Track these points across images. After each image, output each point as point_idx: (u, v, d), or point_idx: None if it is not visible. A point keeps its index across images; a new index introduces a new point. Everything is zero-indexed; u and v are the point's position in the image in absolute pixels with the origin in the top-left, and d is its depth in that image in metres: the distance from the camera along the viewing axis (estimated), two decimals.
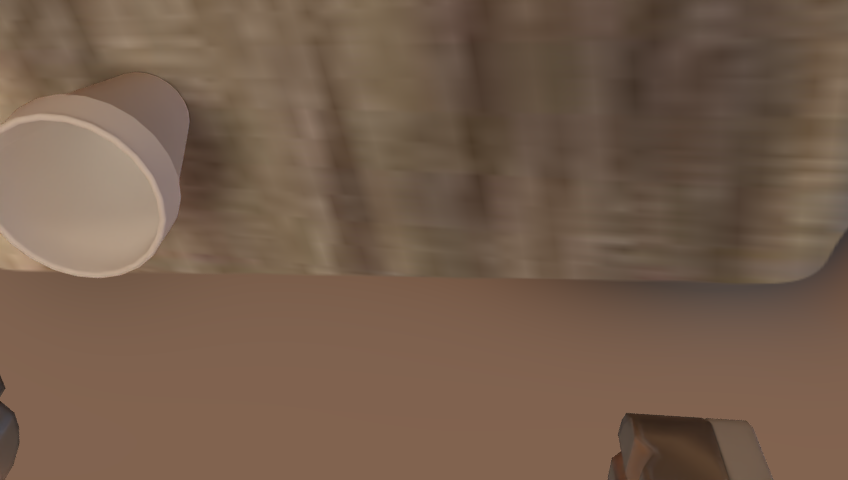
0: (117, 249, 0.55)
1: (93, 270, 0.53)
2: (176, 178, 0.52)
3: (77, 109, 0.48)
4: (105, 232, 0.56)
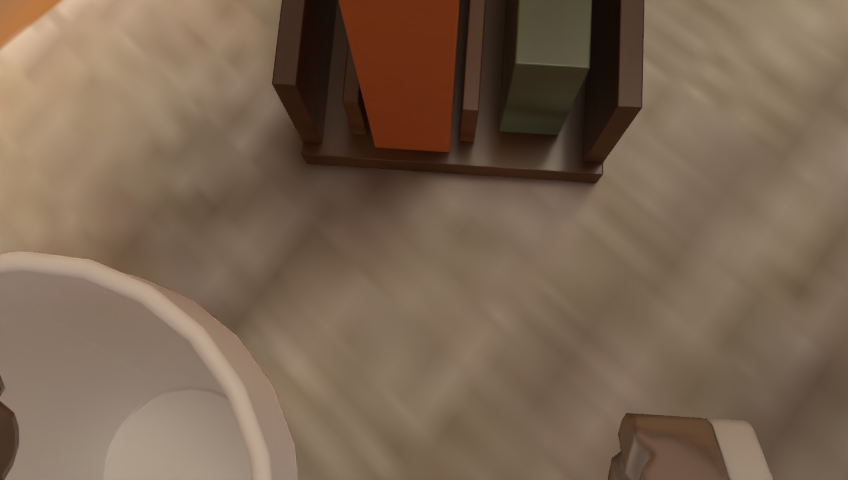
0: None
1: None
2: None
3: (257, 395, 0.18)
4: None
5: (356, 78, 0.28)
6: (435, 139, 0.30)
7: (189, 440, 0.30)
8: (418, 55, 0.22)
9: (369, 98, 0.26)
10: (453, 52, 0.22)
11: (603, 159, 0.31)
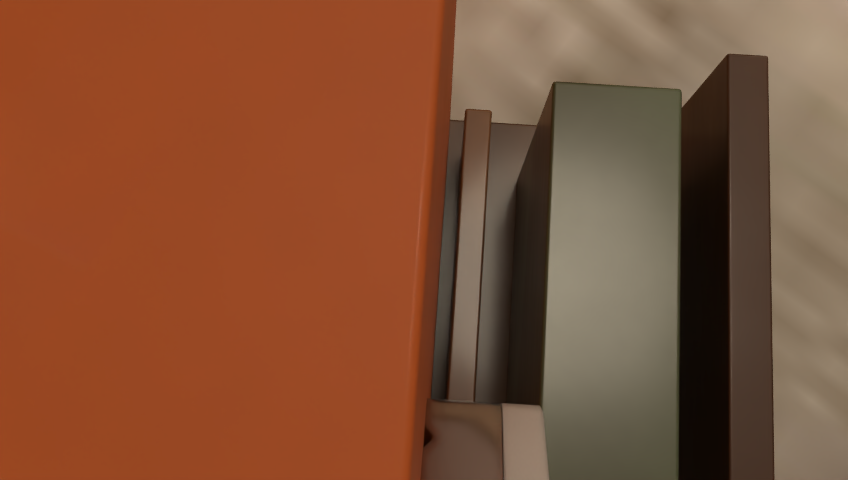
0: None
1: None
2: None
3: None
4: None
5: None
6: None
7: None
8: None
9: None
10: None
11: None
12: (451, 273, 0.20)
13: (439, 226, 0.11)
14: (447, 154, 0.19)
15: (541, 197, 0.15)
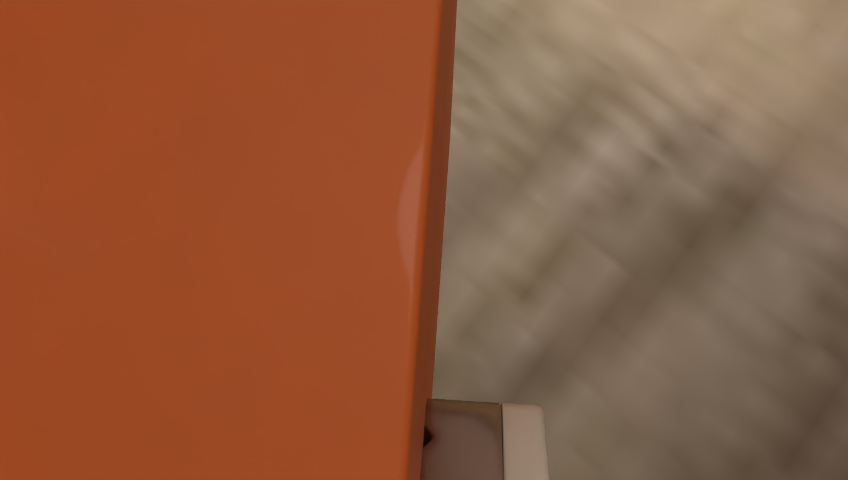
0: None
1: None
2: None
3: None
4: None
5: None
6: None
7: None
8: None
9: None
10: None
11: None
12: None
13: (439, 226, 0.11)
14: None
15: None
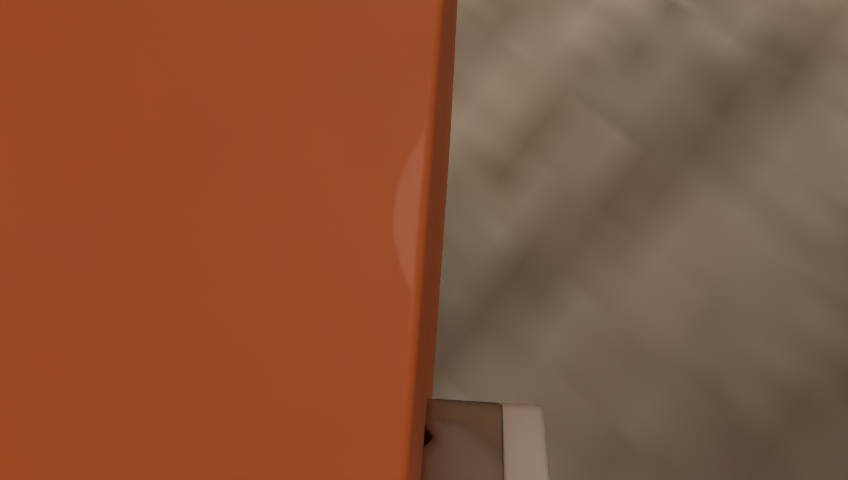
0: None
1: None
2: None
3: None
4: None
5: None
6: None
7: None
8: None
9: None
10: None
11: None
12: None
13: None
14: (448, 154, 0.19)
15: None
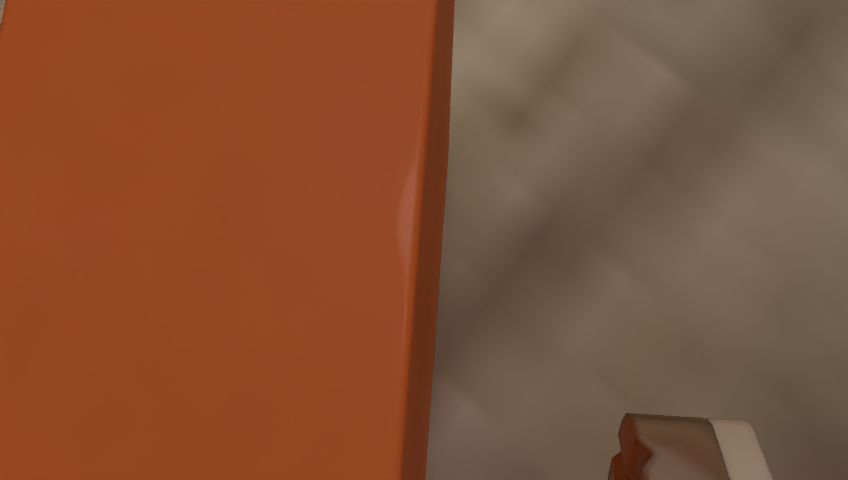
0: None
1: None
2: None
3: None
4: None
5: None
6: None
7: None
8: None
9: None
10: None
11: None
12: None
13: (435, 243, 0.11)
14: (446, 167, 0.20)
15: None
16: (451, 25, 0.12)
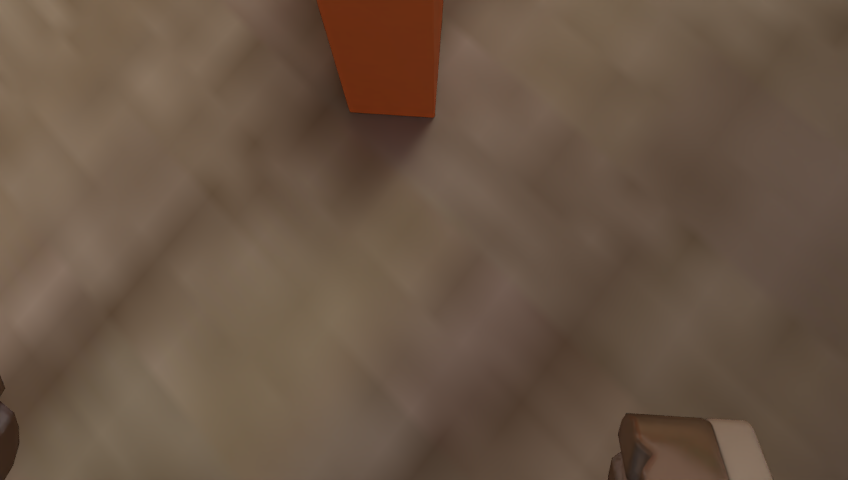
0: None
1: None
2: None
3: None
4: None
5: None
6: (417, 100, 0.26)
7: None
8: None
9: (337, 45, 0.22)
10: None
11: None
12: None
13: None
14: None
15: None
16: None
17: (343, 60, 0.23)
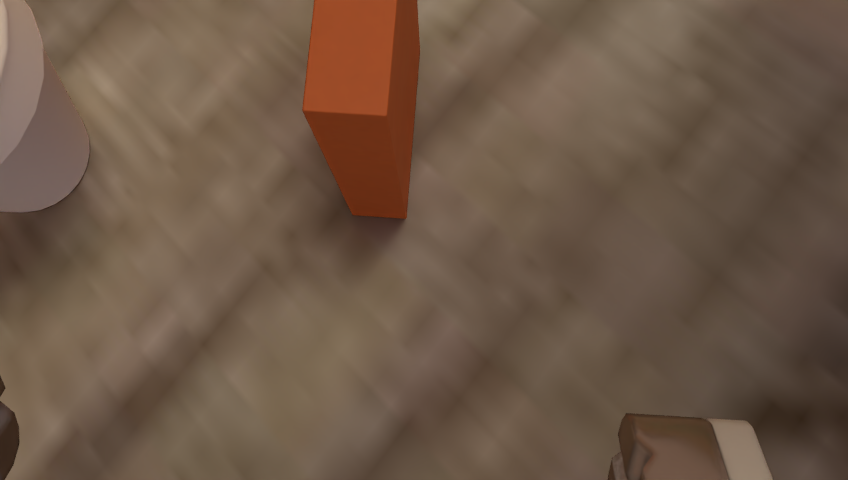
0: None
1: None
2: None
3: None
4: None
5: None
6: (394, 211, 0.41)
7: None
8: (374, 171, 0.34)
9: (345, 190, 0.38)
10: (396, 171, 0.34)
11: None
12: None
13: (406, 51, 0.34)
14: (417, 53, 0.43)
15: None
16: None
17: (348, 195, 0.39)
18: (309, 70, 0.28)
